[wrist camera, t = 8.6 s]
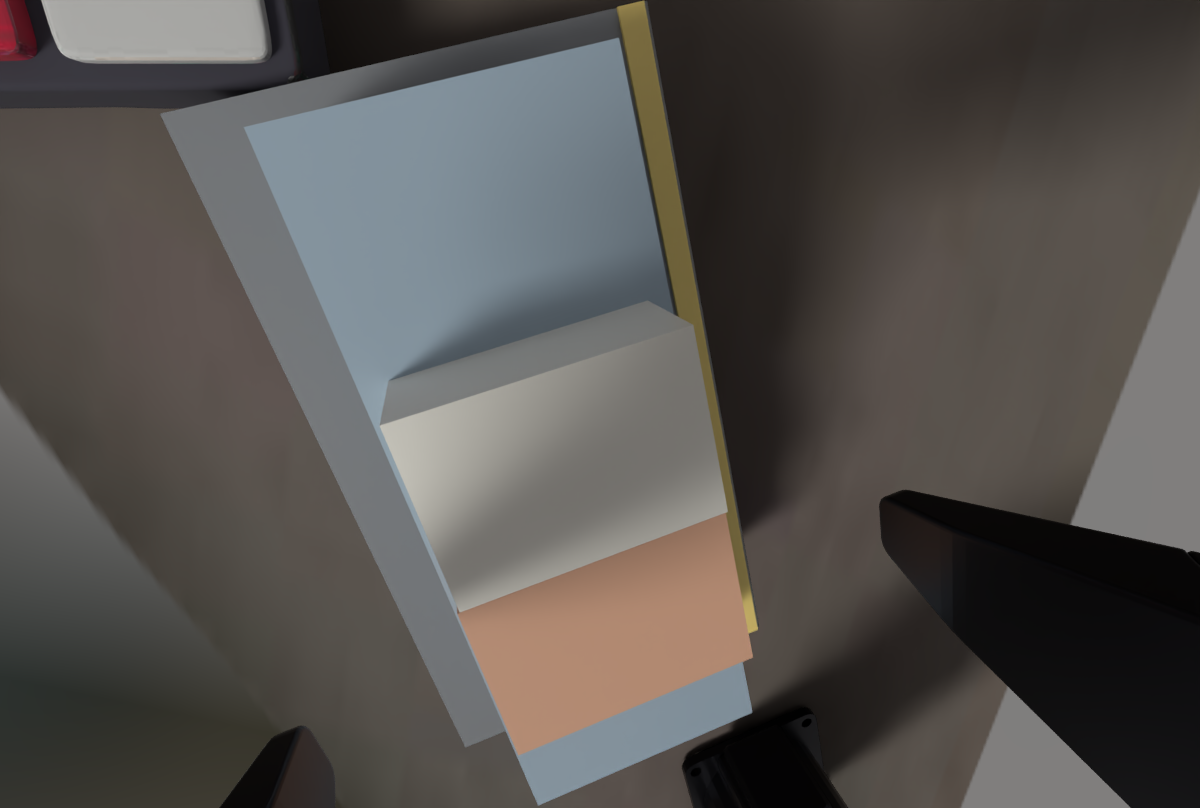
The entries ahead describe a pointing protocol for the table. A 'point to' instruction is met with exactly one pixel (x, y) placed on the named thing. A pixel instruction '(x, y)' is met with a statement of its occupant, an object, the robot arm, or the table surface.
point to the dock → (313, 353)
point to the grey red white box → (154, 51)
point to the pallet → (487, 273)
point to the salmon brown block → (611, 633)
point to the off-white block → (556, 449)
